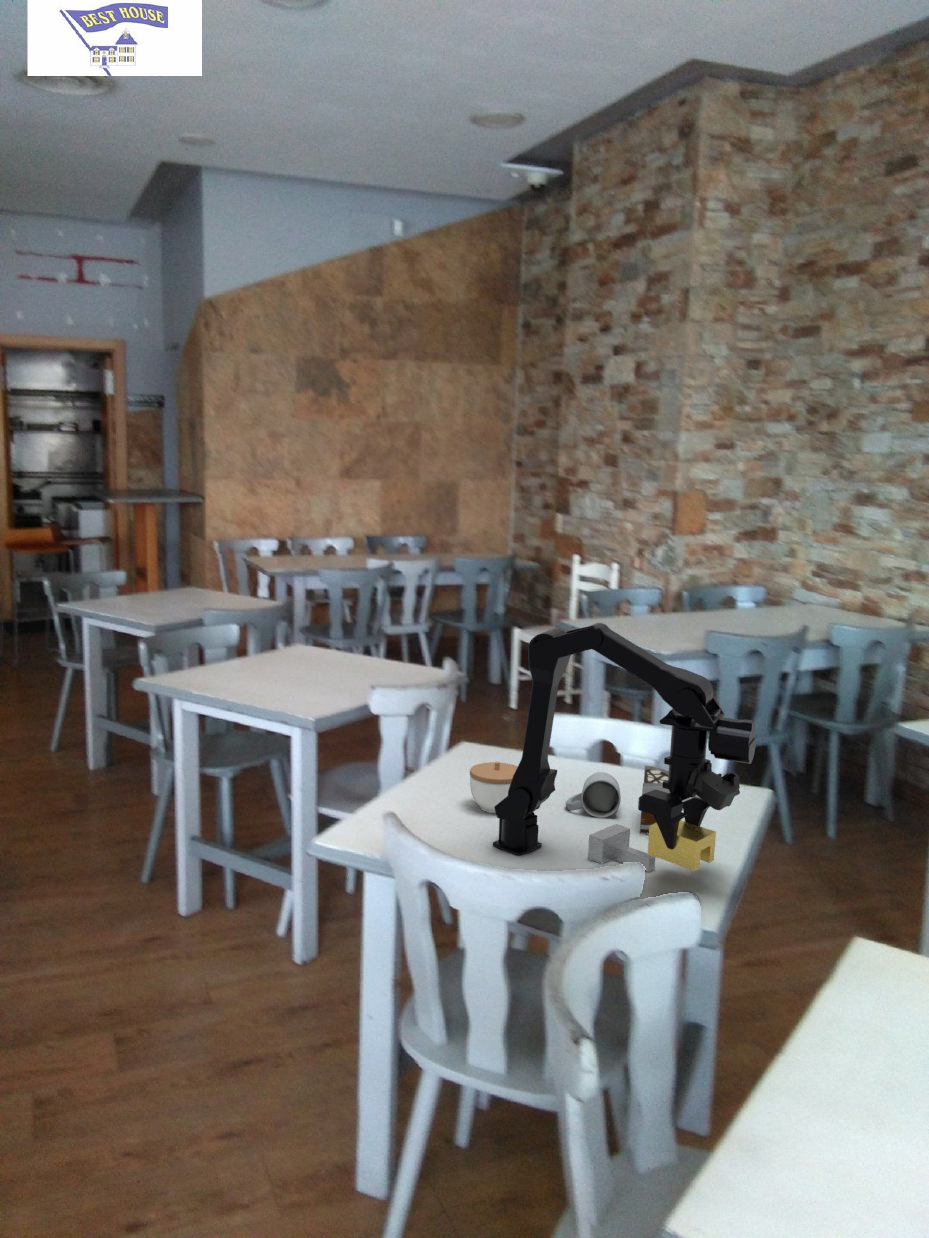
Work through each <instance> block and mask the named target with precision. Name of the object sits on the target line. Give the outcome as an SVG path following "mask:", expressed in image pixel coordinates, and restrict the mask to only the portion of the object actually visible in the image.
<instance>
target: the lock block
mask: <svg viewBox="0 0 929 1238" xmlns="http://www.w3.org/2000/svg"><path fill="white" fill-rule="evenodd" d="M716 837H717V831H714V830H712V829H709V828H705V827H703V826H701V825H700V826H697V825H694V824H691V823H688V822H685V820H682V819H681V820H680V821H679V826H678V832H677V837H676V842H675V846H674V849H672V850H671V849H669V848H667V846H666V844H665V841H664V839H663V837H662V834H661V832H660V829H659V827H658V825H657V823H655V824H652V825H650V826H649V833H648V842H647V853H648V855H651V856H654V857H655V858H657V859H660V860H663V861H665V862H668V863H671V864H674V865H677V866H679V867H683V868H685V869H688V870H691V871H694V872H695V871H697V870H700V868H701V866H700V865H701V864H700V863H701V861H702V862H706V863H708V864H709V863H712V862H713V861H714V860H715V851H716V849H715V848H716V839H717V838H716Z"/></svg>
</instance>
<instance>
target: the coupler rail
mask: <svg viewBox="0 0 929 1238" xmlns="http://www.w3.org/2000/svg"><path fill="white" fill-rule="evenodd" d="M630 834H631V828H630V827H628V826H623V825H621V824H618V823H615V824H613V825H610V826H608V827H606V828H603V829H600V830H598V831H595V832H592V833H591V834H589V835H588V851H587V853H588V854H587V859H588V860H590V861H593V862H596V863H598V864H601V865H603V864H605V863H607V862H610V861H612V860H614V861H616V862H620V863H621V862H640V863H641V864H643V866H645V868H646V870H647V873H650V872H652V871H654V870H656V857H654V856H651V855H648V852H644V851H642V850H639V849H636V848H633V847H631V846H630V840H631V839H630V837H631V835H630Z"/></svg>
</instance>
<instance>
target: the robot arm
mask: <svg viewBox="0 0 929 1238" xmlns="http://www.w3.org/2000/svg"><path fill="white" fill-rule="evenodd" d="M589 650H592V651H595V652H596V653H598V654H600V655H601V656H603V657H605V658H606V659H607V660H609V661H611V662H612V663H613V664H615V665H617V666H618V667H620V668H622V669H623V670H625V671H627V672H628V673H630V674H632V675H633V676H635V677H636V678H638V679H639V680H640V681H642V682H645V683H646V684H647V685H648V686H650V687H652V688H653V689H654V690H655V691H656V693H657V694H658V695H659V697H660V698H661V699H662V700H663V701H664V702H665V703H666V704H667V705H668V706H669V707H670V708H671V709H670V710H669V711H668V713H667V714H666V715H664V716H663V717H662V718H661V719H659V724H660V725H663V726H664V725H666V726H671V732H670V733H671V735H670V737H671V738H670V747H669V748H670V749H669V750H670V751H669V756H668V755H667V756H666V757H664V761H663V764H665V765H668V771H669V774H668V780H666V781H664V782H663V785H662V788H665V789H669V792H670V793H666V792H663V791H660V790H656V789H655V790H652V791H650V792H647V793H644V794H643V795H642V794H641V796H639V797H638V801H637V803H638V804H637V810H638V811H640V812H641V811H643V812H646V813H649V814H652V815H653V817H654V819H655V821H656V823H657V825H658V827H659V829H660V832H661V834H662V837H663V839H664V841H665V844H666V846H667V848H669V849H671V850H672V849H674V846H675V842H676V837H677V832H678V826H679V821H680V820H681V821H682V820H683V819H684V821H685V822H688V823H691V824H694V825H697V826H700V827H701V825H702V822H703V820H704V818H705V816H706V814H707V811H708V809H709V808H712V809H713V810H716V811H722V810H723V809H724V808H727V807H730V806H731V805H732V803H733V800H734V799H735V797H737V796H738V795H740V793H741V791H740V788H741V786H740V775H739V774H737V773H736V772H734V771H730V772H727V773H726V774H724V775H723V774H722V773H716V772H714V771H713V770H712V767H713V766H712V765H713V763H712V762H711V760H710V759H707V758H706V757H707V747H708V751H710V755H713V756H714V759H719V760H724V761H725V760H726V761H730V762H736V763H737V762H738V763H744V764H749V765H750V764H752V762H753V759H754V756H755V751H756V745H757V737H756V730H755V721H754V720H753V719H738V718H737V719H736V718H731V717H725V712H724V711H723V709H722V707H721V706H720V704H719V702H718V701H717V699H716V698H715V697H714V688H713V684H712V683H711V682H710V680H708V678H706V677H704V676H702V675H700V674H698V673H695V672H692V671H691V670H687V669H684V668H681V667H677V666H673V665H671V664H668V663H666V662H664V661H663V660H661V659H660V658H658V657H656V656H654V655H653V654H651V653H650V652H648V651H646V650H645V649H644V648H641V647H640V646H639V645H636V644H635V643H633V642H632V641H630V640H628V639H627V638H625V637H624V636H622V635H620V634H619V633H618V632H616V631H614V630H612V629H611V628H610V627H609V626H608V625H607V624H605V623H603V622H595V623H593V624H591V625H588V626H583V627H579V628H575V629H571V630H567V631H565V630H563V629H561V628H556V627H555V628H552V629H548V630H546V631H543V632H541V633H538V634H537V635H535V636H533V637H532V638H531V639H530V641H529V643H528V648H527V653H528V669H529V673H530V677H531V679H532V684H531V691H530V696H529V697H530V698H529V699H530V700H529V705H528V712H527V719H526V727H525V734H524V741H523V747H522V754H521V759H520V761H519V763H518V765H517V766H518V767H517V769H516V771H515V773H514V775H513V778H512V781H511V784H510V787H509V790H508V796H507V797H506V798H505V799H503V800H502V801H501V802H500V803H498V804H497V805H496V806H495V807H494V808H495V812H496V813H495V815H496V818H497V819H499V822H498V840H496V841H492V846H494V847H496V848H498V849H501V850H504V851H506V852H509V853H511V854H514V855H517V856H521V855H524V854H526V853H527V854H528V853H529V852H531V851H532V852H533V851H534V850H536V849H539V848H542V845H543V844H542V843H541V842H539V828H540V827H539V824H538V815H537V814H535V811H538V810H539V809H540V808H541V805H542V804H543V803H544V802H546V801H547V800H548V799H549V798H550V796H551V795H552V793H554V792H555V791H556V787H555V781H556V778H557V774H558V769H553V768H551V766H550V763H549V751H550V744H551V739H552V731H553V725H554V717H555V711H556V704H557V697H558V691H559V686H560V685H559V683H560V682H561V680H562V678H563V675H564V673H565V671H566V669H567V667H568V665H569V662H570V659H571V656H572V655H574V654H578V653H582V652H585V651H589ZM708 733H709V735H708ZM707 743H708V744H707ZM722 775H723V776H722Z"/></svg>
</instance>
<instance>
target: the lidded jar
mask: <svg viewBox="0 0 929 1238" xmlns="http://www.w3.org/2000/svg"><path fill="white" fill-rule="evenodd" d="M517 767H518V765H515V764H512V763H506V762H500V761H491V762H482V763H478V764H475V765H472V766H471V767H470V769H469V776H470V777H469V784H470V785H469V787H470V793H471V795H472V796H471V797H472V799H473V800H474V802H475V803H476V804H477V805H478V806H479V808H480V810H481V811H482V812H485V811H486V813H490V814H496V812H495V808H494V807H495V806H496V805H497V804H498V803H500V802H501V801H502V800H503V799H505V798H506V797H507V796H508V790H509V787H510V784H511V781H512V778H513V775H514V773H515V771H516V769H517Z"/></svg>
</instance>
